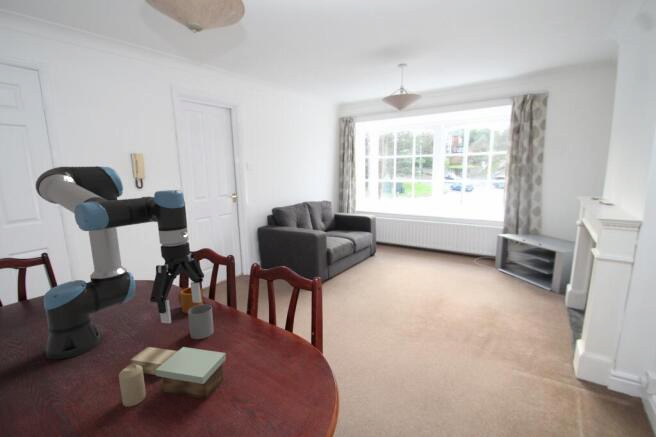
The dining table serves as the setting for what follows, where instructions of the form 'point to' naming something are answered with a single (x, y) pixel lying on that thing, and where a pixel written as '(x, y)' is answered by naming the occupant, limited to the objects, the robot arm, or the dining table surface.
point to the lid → (191, 365)
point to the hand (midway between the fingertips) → (182, 311)
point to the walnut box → (194, 385)
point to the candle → (132, 385)
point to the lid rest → (152, 359)
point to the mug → (187, 299)
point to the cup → (200, 321)
